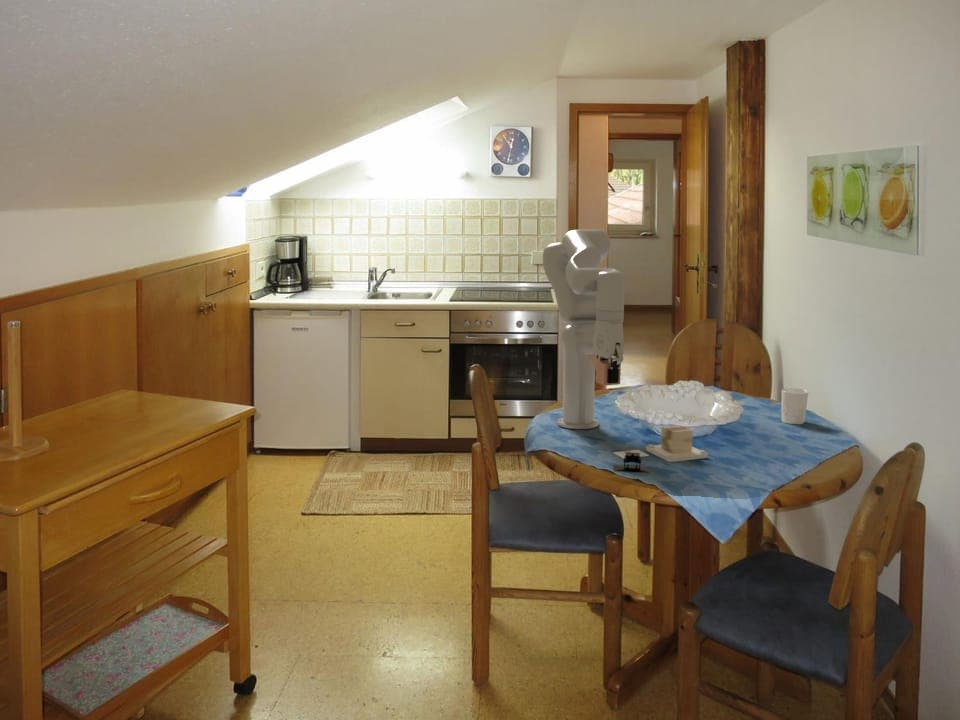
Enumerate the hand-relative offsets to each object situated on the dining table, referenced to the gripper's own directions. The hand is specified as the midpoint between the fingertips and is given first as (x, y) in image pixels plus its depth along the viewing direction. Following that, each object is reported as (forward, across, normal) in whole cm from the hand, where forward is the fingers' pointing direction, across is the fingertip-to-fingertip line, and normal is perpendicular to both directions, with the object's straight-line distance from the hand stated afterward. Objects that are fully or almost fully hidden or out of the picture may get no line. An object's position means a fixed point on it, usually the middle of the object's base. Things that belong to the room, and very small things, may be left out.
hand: (608, 380), depth 264 cm
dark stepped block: (+20, +20, -3) cm, 29 cm away
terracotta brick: (+1, 0, 0) cm, 1 cm away
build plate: (+20, +12, +16) cm, 28 cm away
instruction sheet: (+20, +8, +3) cm, 21 cm away
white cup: (+20, -7, +69) cm, 72 cm away
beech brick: (+18, +12, +15) cm, 27 cm away
